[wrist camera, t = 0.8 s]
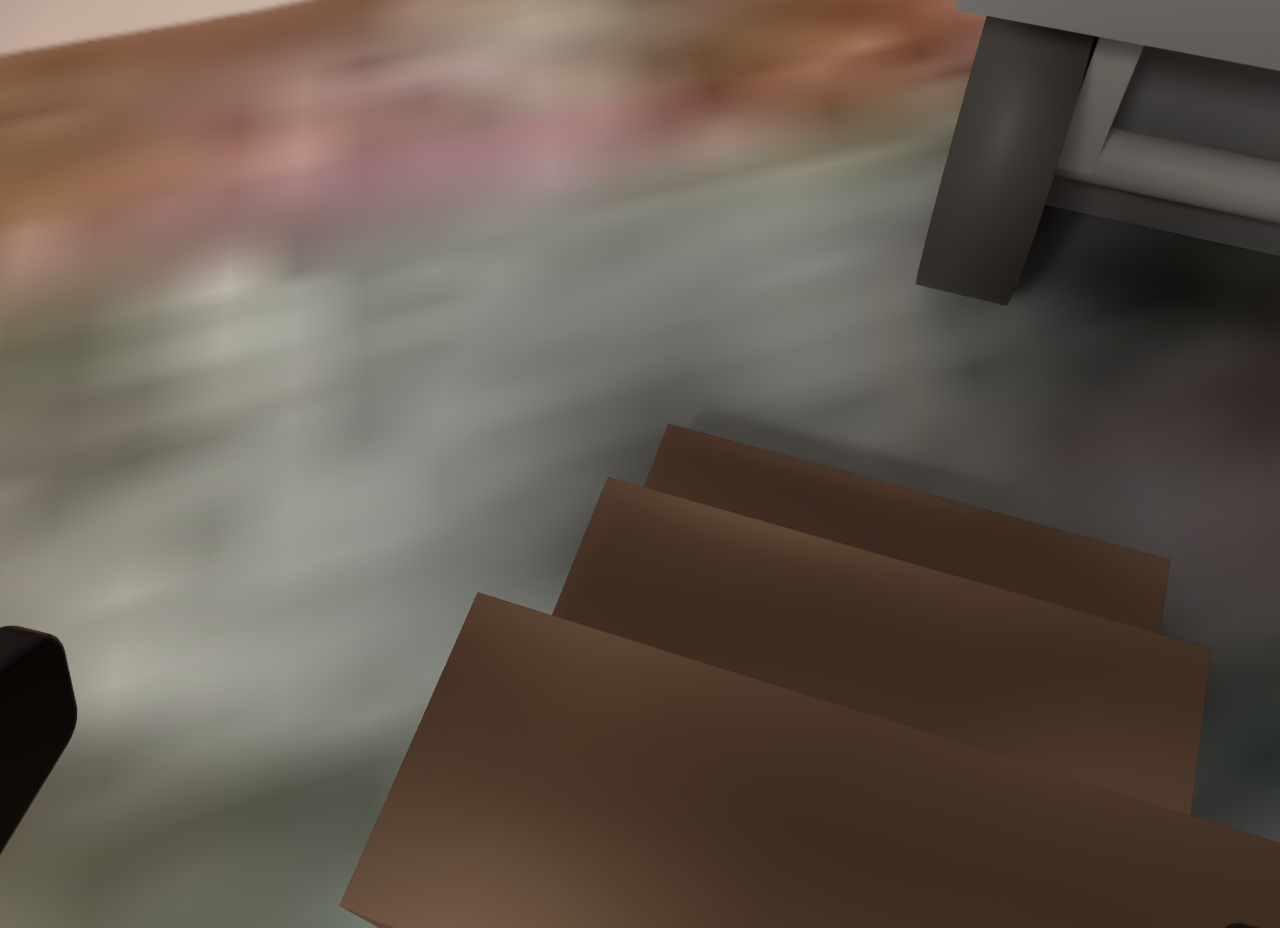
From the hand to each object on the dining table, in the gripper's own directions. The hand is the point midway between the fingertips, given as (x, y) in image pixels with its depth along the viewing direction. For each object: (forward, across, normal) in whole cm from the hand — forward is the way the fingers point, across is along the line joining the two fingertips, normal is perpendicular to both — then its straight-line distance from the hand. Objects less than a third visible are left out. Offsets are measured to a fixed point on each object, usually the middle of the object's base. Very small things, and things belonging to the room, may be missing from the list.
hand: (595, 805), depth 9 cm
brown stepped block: (+8, -2, +11) cm, 14 cm away
